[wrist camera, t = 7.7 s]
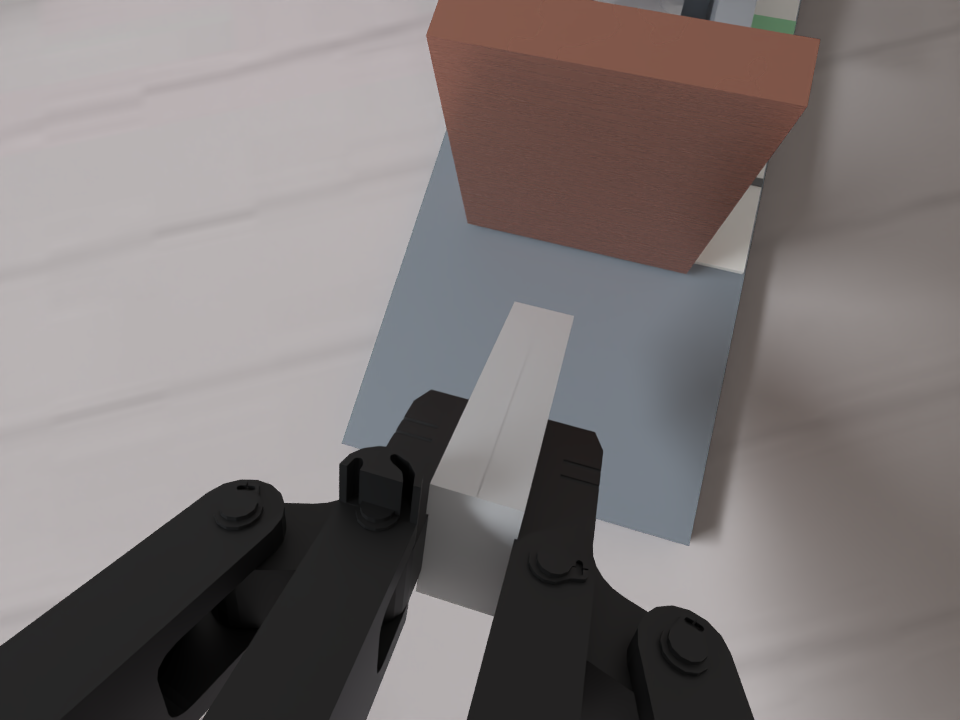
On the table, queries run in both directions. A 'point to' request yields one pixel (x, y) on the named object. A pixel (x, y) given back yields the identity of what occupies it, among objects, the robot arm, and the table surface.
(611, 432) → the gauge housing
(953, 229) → the table surface
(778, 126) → the plunger
